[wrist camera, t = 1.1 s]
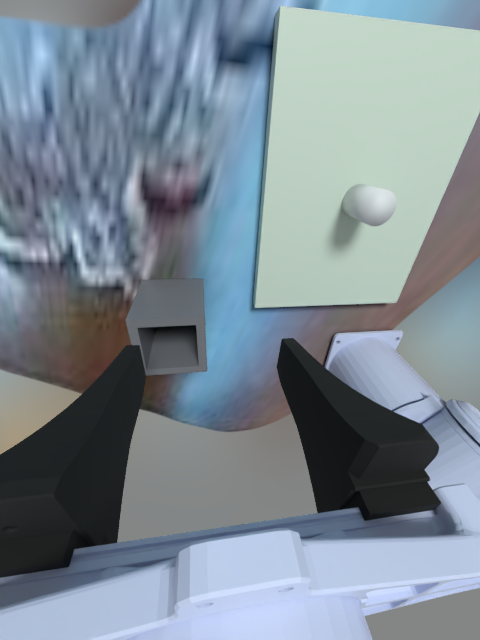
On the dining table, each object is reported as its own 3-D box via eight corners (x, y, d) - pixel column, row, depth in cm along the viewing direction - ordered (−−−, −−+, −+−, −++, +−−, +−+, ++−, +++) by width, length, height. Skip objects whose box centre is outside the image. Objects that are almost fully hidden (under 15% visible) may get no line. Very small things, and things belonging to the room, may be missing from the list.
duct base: (390, 297, 26) (417, 319, 23) (252, 302, 24) (261, 327, 21) (497, 40, 16) (575, 13, 13) (275, 13, 14) (299, -27, 11)
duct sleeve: (205, 326, 25) (207, 371, 20) (151, 328, 24) (139, 375, 19) (203, 278, 22) (204, 317, 17) (142, 279, 21) (125, 320, 16)
